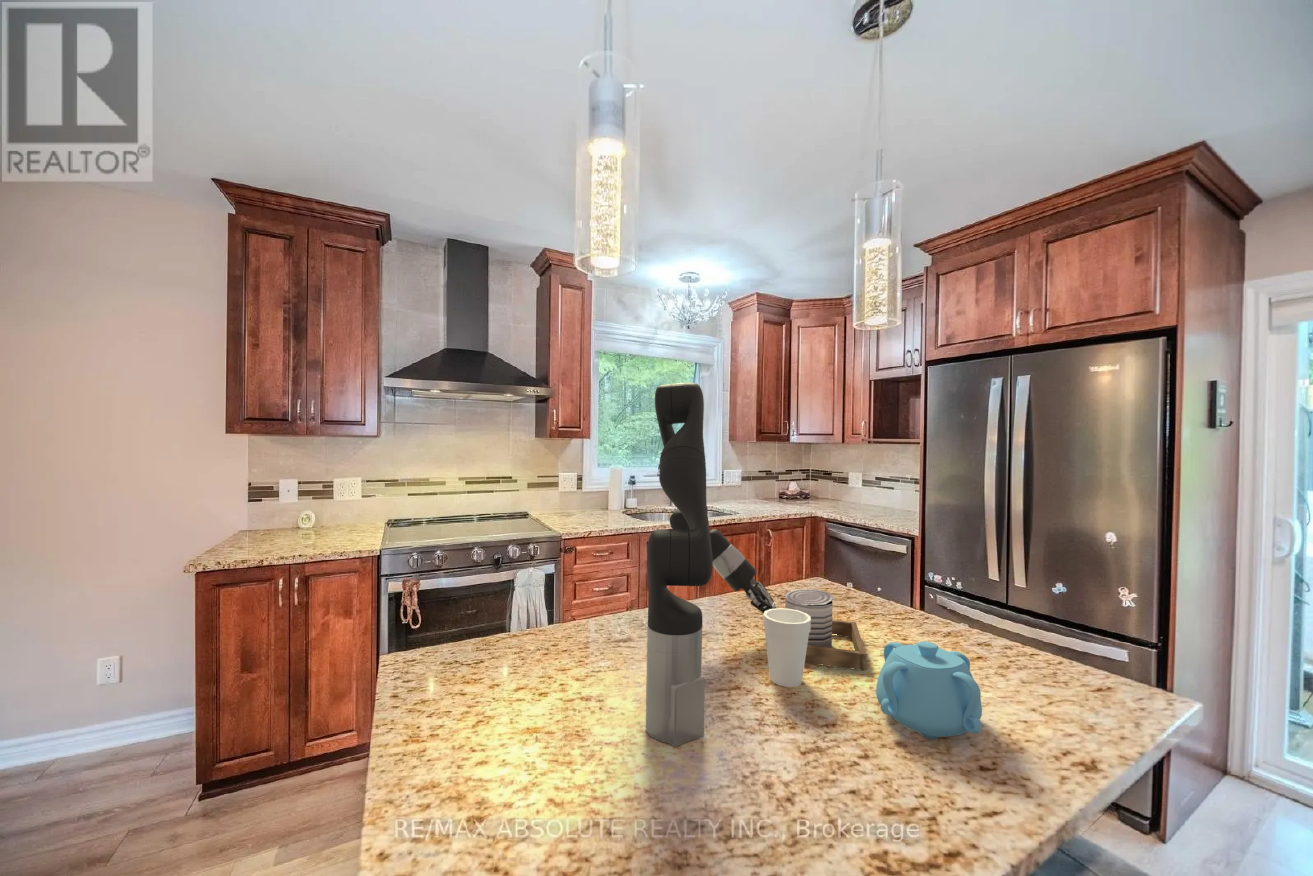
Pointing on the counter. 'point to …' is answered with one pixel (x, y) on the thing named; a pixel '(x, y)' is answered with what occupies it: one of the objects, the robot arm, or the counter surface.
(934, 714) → the decorative pot
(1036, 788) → the counter surface
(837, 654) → the tray
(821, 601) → the can
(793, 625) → the foam cup
